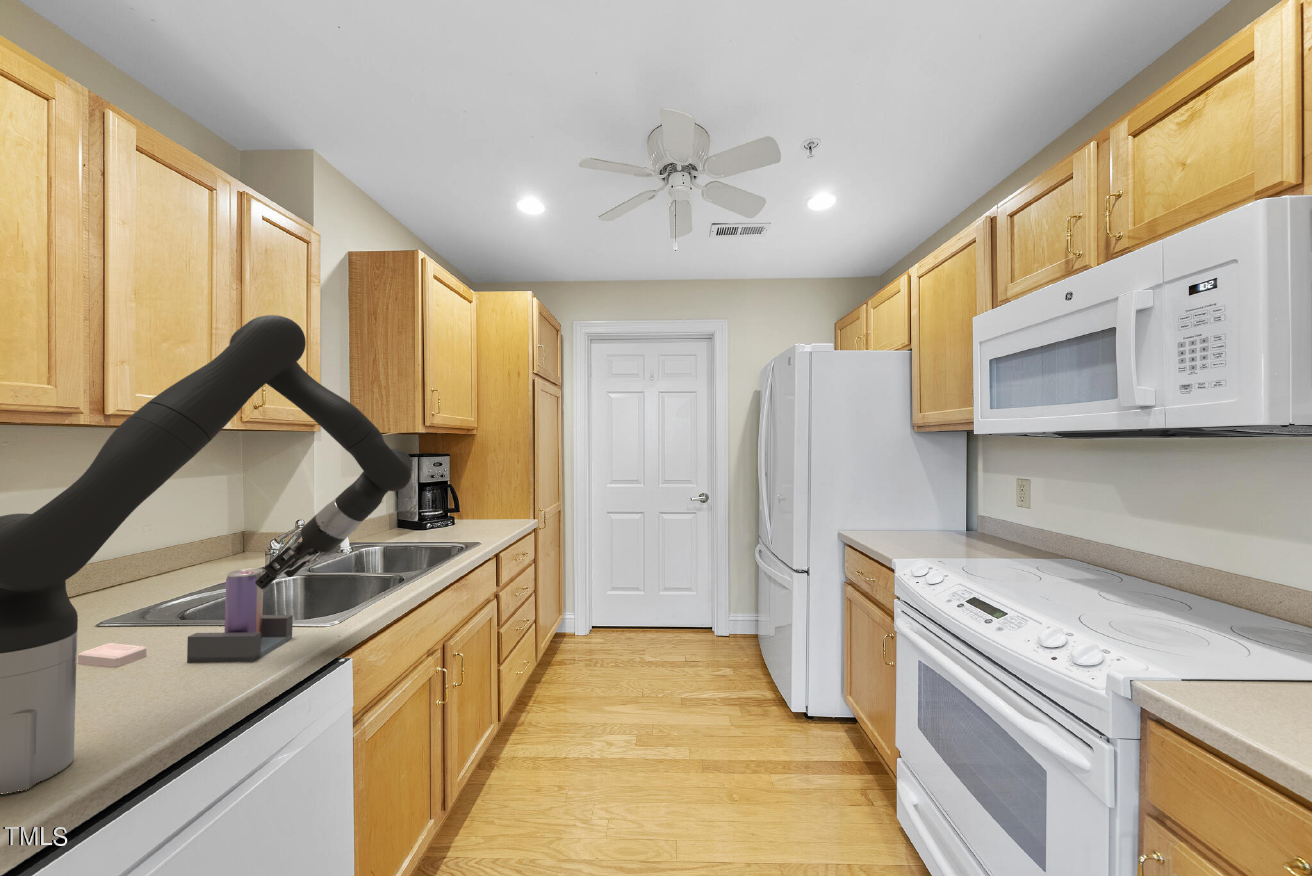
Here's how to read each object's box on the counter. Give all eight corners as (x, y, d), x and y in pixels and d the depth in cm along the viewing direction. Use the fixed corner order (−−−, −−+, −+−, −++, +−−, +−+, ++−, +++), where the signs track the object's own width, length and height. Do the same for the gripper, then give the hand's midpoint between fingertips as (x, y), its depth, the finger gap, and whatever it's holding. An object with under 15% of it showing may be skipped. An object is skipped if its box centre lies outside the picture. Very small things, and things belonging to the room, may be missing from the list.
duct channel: (292, 637, 111) (292, 614, 111) (253, 661, 99) (254, 636, 99) (233, 638, 110) (233, 615, 110) (187, 662, 98) (187, 636, 98)
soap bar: (110, 653, 102) (110, 641, 102) (148, 657, 101) (148, 645, 101) (75, 665, 97) (76, 652, 97) (115, 669, 96) (116, 656, 96)
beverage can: (240, 652, 101) (242, 576, 101) (216, 649, 102) (218, 574, 102) (268, 641, 107) (271, 569, 107) (245, 638, 108) (248, 567, 108)
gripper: (338, 507, 113) (282, 558, 112) (299, 516, 99) (234, 576, 98) (363, 531, 114) (307, 583, 113) (327, 544, 99) (263, 603, 98)
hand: (273, 579), depth 105 cm, fingers open, 8 cm apart
